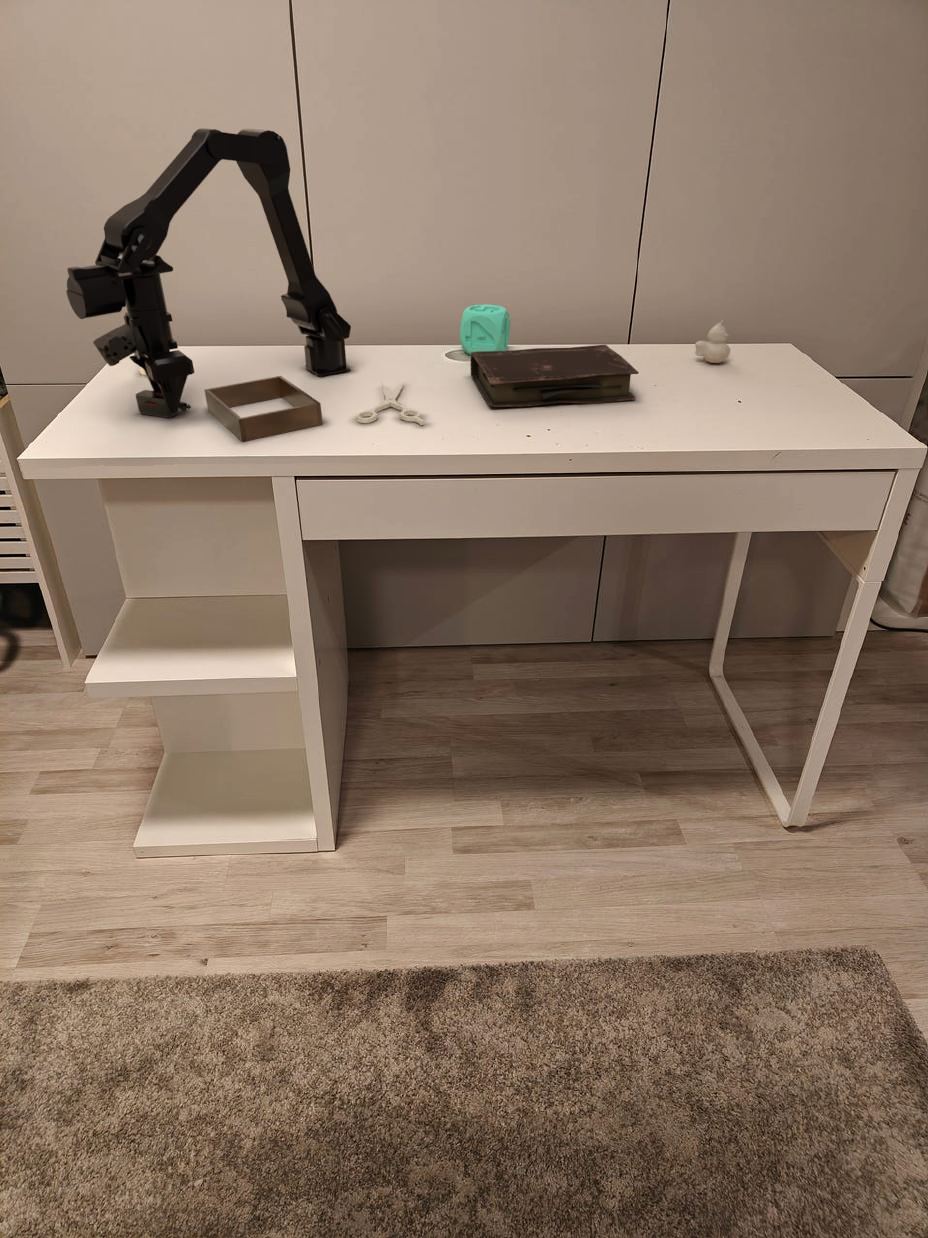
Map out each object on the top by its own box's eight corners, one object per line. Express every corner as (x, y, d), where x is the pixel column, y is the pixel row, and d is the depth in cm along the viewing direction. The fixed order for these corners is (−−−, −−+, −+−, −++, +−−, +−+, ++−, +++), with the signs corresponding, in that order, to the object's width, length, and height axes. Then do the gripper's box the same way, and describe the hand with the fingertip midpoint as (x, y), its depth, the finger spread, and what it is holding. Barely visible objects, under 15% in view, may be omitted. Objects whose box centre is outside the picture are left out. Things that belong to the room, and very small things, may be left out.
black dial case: (174, 419, 132) (170, 399, 130) (138, 414, 134) (133, 394, 132) (192, 410, 136) (188, 390, 134) (156, 405, 138) (152, 385, 136)
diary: (470, 376, 150) (470, 348, 147) (602, 368, 153) (605, 341, 150) (490, 412, 134) (491, 381, 132) (637, 402, 138) (640, 372, 135)
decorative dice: (499, 358, 159) (500, 315, 154) (459, 355, 160) (459, 312, 156) (509, 347, 165) (510, 305, 160) (471, 344, 167) (471, 302, 162)
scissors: (355, 422, 129) (362, 380, 145) (356, 426, 129) (362, 384, 145) (423, 420, 129) (422, 379, 145) (423, 425, 129) (423, 383, 146)
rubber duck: (731, 366, 154) (738, 322, 150) (695, 366, 154) (702, 322, 150) (724, 358, 159) (732, 314, 154) (690, 357, 159) (696, 314, 154)
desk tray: (283, 395, 141) (281, 375, 140) (322, 424, 130) (320, 402, 128) (208, 410, 136) (204, 389, 134) (242, 441, 124) (238, 419, 122)
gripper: (77, 301, 128) (102, 399, 137) (105, 328, 115) (131, 435, 124) (150, 292, 133) (170, 387, 142) (185, 316, 120) (204, 420, 129)
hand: (167, 406), depth 134 cm, fingers open, 6 cm apart
